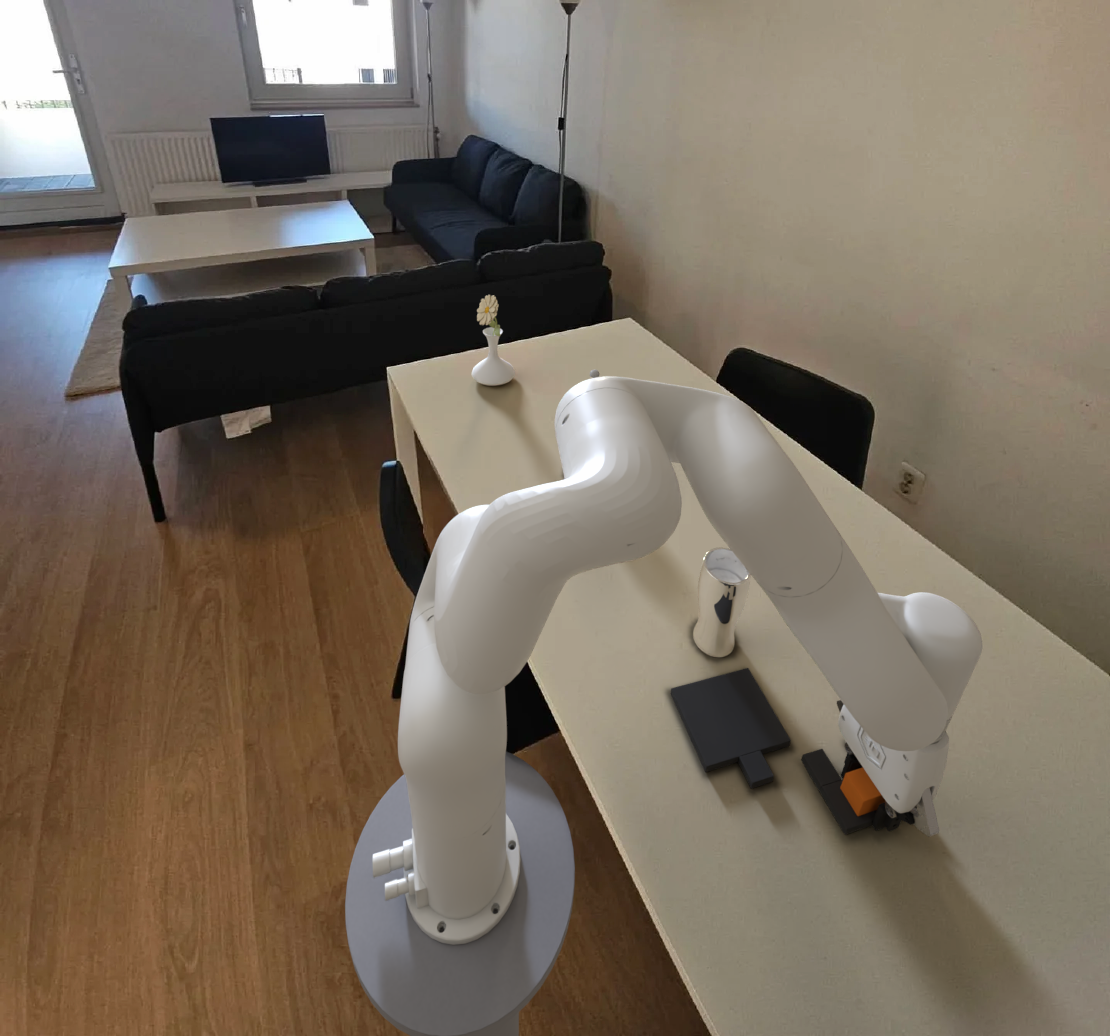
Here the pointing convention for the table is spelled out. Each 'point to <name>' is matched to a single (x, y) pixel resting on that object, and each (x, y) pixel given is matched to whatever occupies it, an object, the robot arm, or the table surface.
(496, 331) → the flower in vase
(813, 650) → the robot arm
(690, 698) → the charcoal pad
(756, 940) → the table surface
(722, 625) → the beer glass
